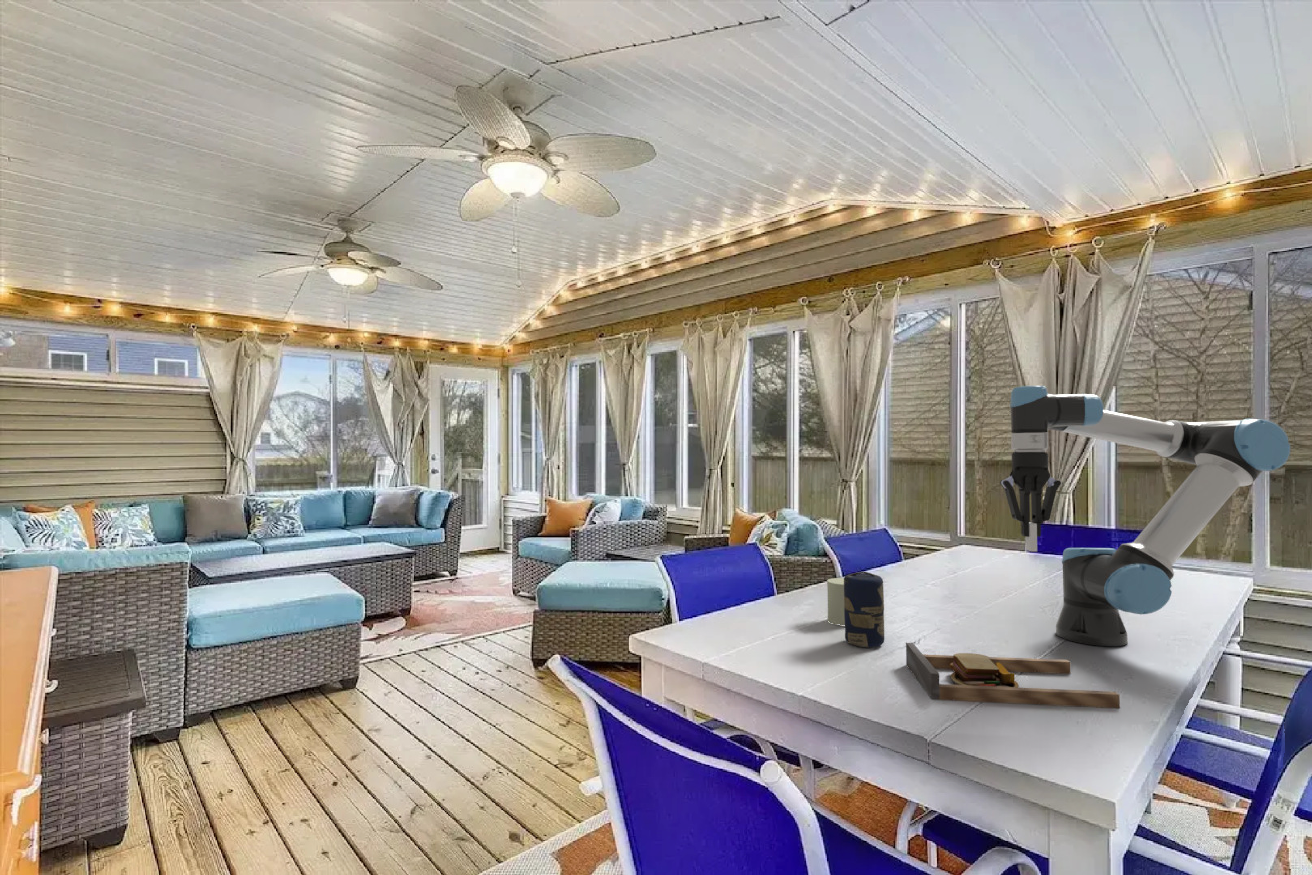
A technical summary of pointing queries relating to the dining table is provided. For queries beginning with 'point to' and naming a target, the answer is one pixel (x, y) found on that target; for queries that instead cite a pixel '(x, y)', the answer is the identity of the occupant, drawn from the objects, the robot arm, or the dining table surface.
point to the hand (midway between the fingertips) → (1031, 550)
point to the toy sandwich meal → (980, 671)
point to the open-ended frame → (929, 680)
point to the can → (836, 601)
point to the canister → (864, 609)
